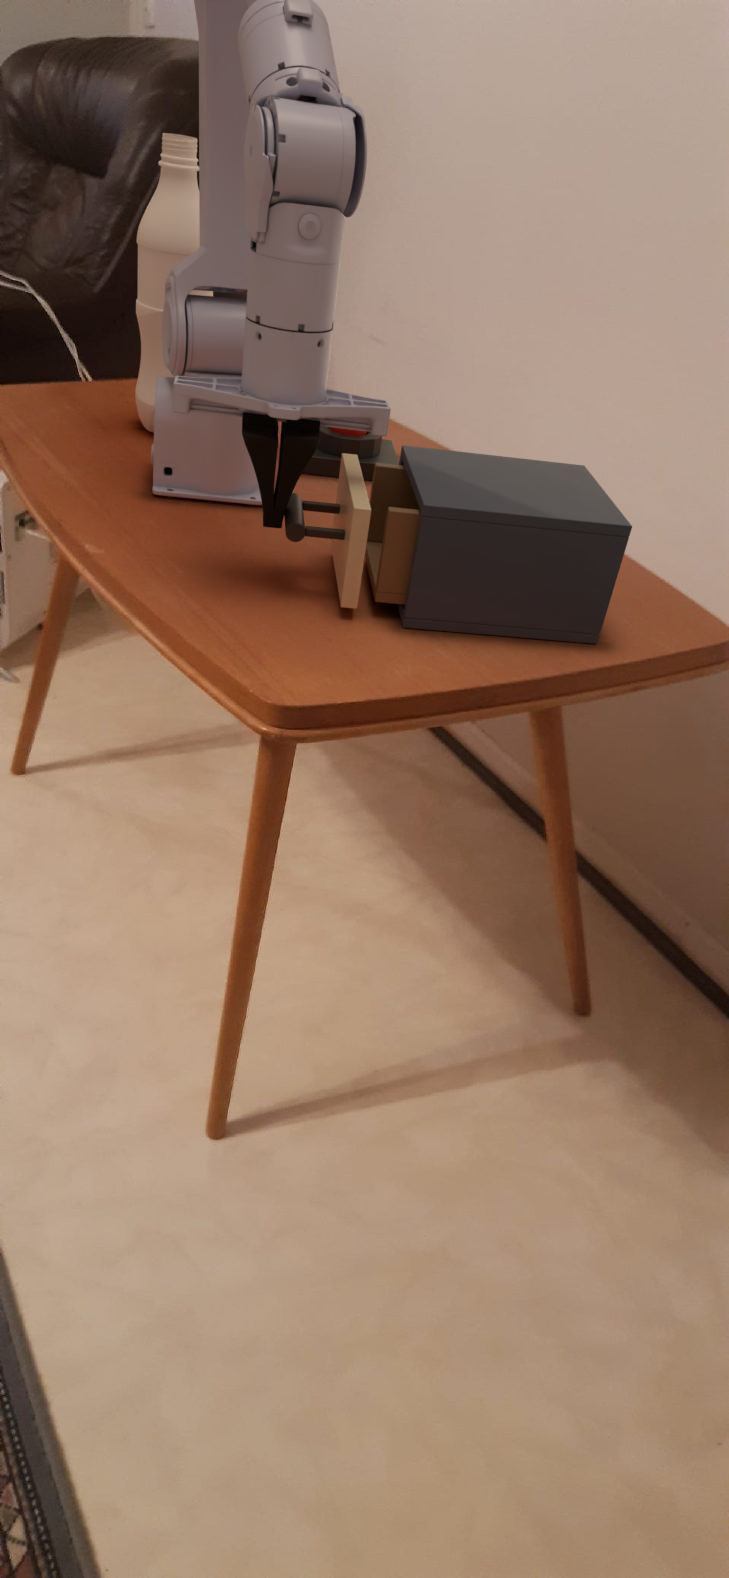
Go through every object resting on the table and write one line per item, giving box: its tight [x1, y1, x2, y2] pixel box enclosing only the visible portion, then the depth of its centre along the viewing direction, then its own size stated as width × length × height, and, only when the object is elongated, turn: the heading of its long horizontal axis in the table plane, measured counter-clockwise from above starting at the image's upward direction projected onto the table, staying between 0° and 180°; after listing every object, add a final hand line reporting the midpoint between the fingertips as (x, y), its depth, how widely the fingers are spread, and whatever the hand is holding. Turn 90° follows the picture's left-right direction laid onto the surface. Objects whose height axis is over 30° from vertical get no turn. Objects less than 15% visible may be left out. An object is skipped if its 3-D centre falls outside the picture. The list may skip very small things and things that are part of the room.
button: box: [330, 427, 367, 436], centre depth 99 cm, size 4×4×2 cm
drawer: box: [283, 453, 421, 609], centre depth 76 cm, size 18×11×7 cm, turn 95°
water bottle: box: [134, 132, 214, 434], centre depth 95 cm, size 7×7×25 cm
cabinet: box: [396, 444, 633, 645], centre depth 77 cm, size 15×13×9 cm
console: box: [302, 426, 400, 482], centre depth 100 cm, size 10×8×4 cm
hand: (272, 522), depth 74 cm, fingers closed
